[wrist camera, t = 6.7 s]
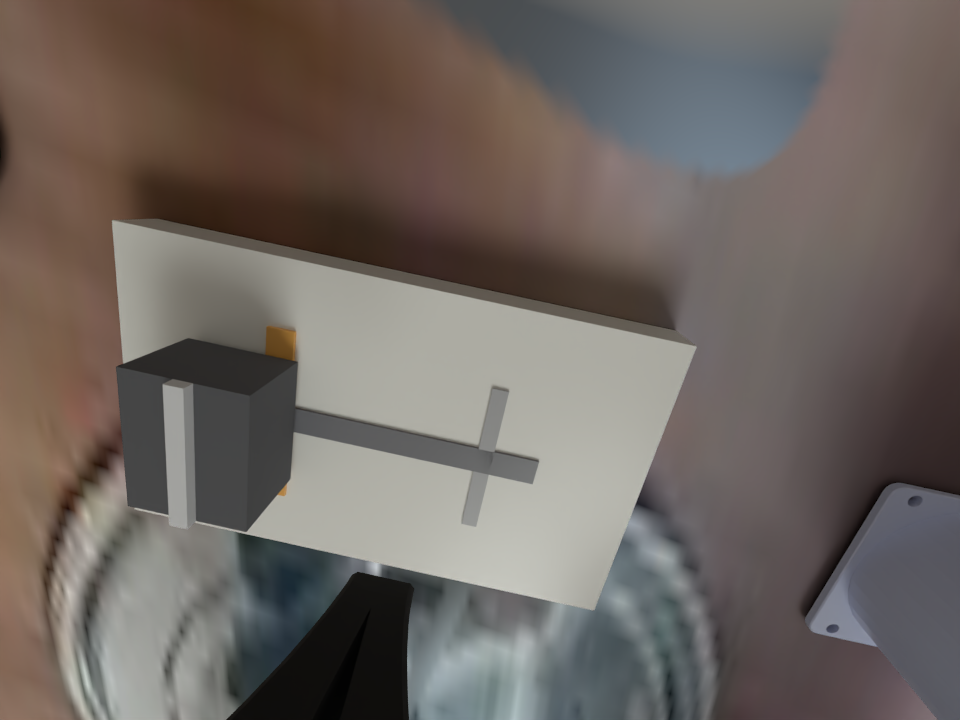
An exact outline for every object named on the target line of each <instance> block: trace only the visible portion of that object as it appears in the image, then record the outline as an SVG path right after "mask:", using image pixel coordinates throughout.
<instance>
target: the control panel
mask: <svg viewBox="0 0 960 720" xmlns="http://www.w3.org/2000/svg"><path fill="white" fill-rule="evenodd" d="M112 227H113V240H114V253H115V265H116V278H117V291H118V303H119V316H120V329H121V341H122V354H123V364H124V363H127V362H129V361H132V360H134V359H137V358H139V357H142V356H144V355H147V354H149V353H152V352H154V351H157V350H159V349H162V348H164V347H167V346H169V345H172V344H174V343H177V342H179V341H182V340H184V339H187V338H191V339H195V340H200V341H205V342H209V343H214V344H218V345H223V346H228V347H232V348H237V349H241V350H246V351H250V352H255V353H260V354H264V355H269V356H273V357H278V358H283V359H287V360H292V361H296V362H298V371H297V387H296V402H295V417H294V433H293V448H292V463H291V479H290V480H289V482H288V483H287V484H286V485H285V486H284V488H283V489H282V490H281V491H280V492H279V494H278V495H277V496H276V497H275V498H274V500H273V501H272V502H271V503H270V504H269V506H268V507H267V508H266V509H265V510H264V512H263V513H262V514H261V515H260V516H259V518H258V519H257V520H256V521H255V522H254V524H253V525H252V526H251V527H250V528H249V530H248V531H247V532H243V531H239V530H234V529H230V528H225V527H221V526H216V525H212V524H207V523H203V522H198V521H196V522H195V523H199V524H203V525H208V526H212V527H217V528H222V529H226V530H231V531H235V532H240V533H244V534H249V535H253V536H258V537H262V538H267V539H271V540H276V541H280V542H285V543H289V544H294V545H299V546H303V547H308V548H312V549H317V550H321V551H326V552H330V553H335V554H339V555H344V556H348V557H353V558H357V559H362V560H367V561H371V562H376V563H380V564H385V565H389V566H394V567H398V568H403V569H407V570H412V571H416V572H421V573H425V574H430V575H434V576H439V577H444V578H448V579H453V580H457V581H462V582H466V583H471V584H475V585H480V586H484V587H489V588H493V589H498V590H502V591H507V592H511V593H516V594H521V595H525V596H530V597H534V598H539V599H543V600H548V601H552V602H557V603H561V604H566V605H570V606H575V607H579V608H584V609H589V610H593V611H594V610H595V607H596V605H597V602H598V599H599V597H600V594H601V592H602V589H603V587H604V584H605V581H606V579H607V576H608V574H609V571H610V569H611V566H612V563H613V561H614V558H615V556H616V553H617V551H618V548H619V545H620V543H621V540H622V538H623V535H624V532H625V530H626V527H627V525H628V522H629V520H630V517H631V514H632V512H633V509H634V507H635V504H636V502H637V499H638V496H639V494H640V491H641V489H642V486H643V484H644V481H645V478H646V476H647V473H648V471H649V468H650V466H651V463H652V460H653V458H654V455H655V453H656V450H657V448H658V445H659V442H660V440H661V437H662V435H663V432H664V430H665V427H666V424H667V422H668V419H669V417H670V414H671V412H672V409H673V406H674V404H675V401H676V399H677V396H678V393H679V391H680V388H681V386H682V383H683V381H684V378H685V375H686V373H687V370H688V368H689V365H690V363H691V360H692V357H693V355H694V352H695V350H696V347H697V346H695V345H694V344H693V343H692V342H690V341H689V340H688V339H686V338H685V337H684V336H682V335H681V334H680V333H679V332H677V331H675V330H671V329H666V328H661V327H657V326H652V325H648V324H643V323H638V322H634V321H629V320H624V319H620V318H615V317H610V316H606V315H601V314H597V313H592V312H587V311H583V310H578V309H573V308H569V307H564V306H560V305H555V304H550V303H546V302H541V301H536V300H532V299H527V298H522V297H518V296H513V295H509V294H504V293H499V292H495V291H490V290H485V289H481V288H476V287H472V286H467V285H462V284H458V283H453V282H448V281H444V280H439V279H435V278H430V277H425V276H421V275H416V274H411V273H407V272H402V271H397V270H393V269H388V268H384V267H379V266H374V265H370V264H365V263H360V262H356V261H351V260H347V259H342V258H337V257H333V256H328V255H323V254H319V253H314V252H309V251H305V250H300V249H296V248H291V247H286V246H282V245H277V244H272V243H268V242H263V241H259V240H254V239H249V238H245V237H240V236H235V235H231V234H226V233H222V232H217V231H212V230H208V229H203V228H198V227H194V226H189V225H184V224H180V223H175V222H171V221H166V220H161V219H131V220H112ZM135 510H140V511H145V512H149V513H154V514H158V515H163V516H167V517H169V515H166V514H162V513H157V512H153V511H148V510H144V509H139V508H135Z"/></svg>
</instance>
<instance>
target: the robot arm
mask: <svg viewBox="0 0 960 720" xmlns="http://www.w3.org/2000/svg"><path fill="white" fill-rule="evenodd" d="M911 497H912V498H911ZM910 498H911V499H910ZM909 499H910V500H909ZM413 593H414V588H413V587H412V585H411V584H410V583H405V582H401V581H396V580H392V579H387V578H383V577H378V576H374V575H369V574H365V573H360V572H357V573H355V574H353V575H352V576H351V578H350V579H349V581H348V582H347V584H346V585H345V586H344V588H343V589H342V591H341V592H340V593H339V595H338V596H337V597H336V599H335V600H334V601H333V603H332V604H331V605H330V606H329V608H328V609H327V610H326V612H325V613H324V614H323V615H322V616H321V618H320V619H319V620H318V621H317V623H316V624H315V625H314V626H313V627H312V629H311V630H310V631H309V632H308V633H307V634H306V636H305V637H304V638H303V639H302V640H301V641H300V642H299V644H298V645H297V646H296V647H295V648H294V649H293V650H292V652H291V653H290V654H289V655H288V656H287V657H286V658H285V660H284V661H283V662H282V663H281V664H280V665H279V666H278V667H277V668H276V669H275V670H274V671H273V672H272V673H271V674H270V676H269V677H268V678H267V679H266V680H265V681H264V682H263V683H262V684H261V685H260V686H259V687H258V688H257V689H256V690H255V691H254V692H253V693H252V694H251V695H250V697H249V698H248V699H247V700H246V701H245V702H244V703H243V704H242V705H241V706H240V707H239V708H238V709H237V710H236V711H235V712H234V713H233V714H232V715H231V716H230V717H229V718H228V719H226V720H409V714H408V690H407V641H408V624H409V614H410V608H411V603H412V598H413ZM805 623H806V625H807V626H808V628H809V629H810V630H811V631H812V632H814V633H817V634H821V635H826V636H831V637H835V638H840V639H844V640H849V641H853V642H858V643H862V644H867V645H871V646H876V647H878V648H879V649H880V650H881V651H882V653H883V654H884V655H885V656H886V657H887V659H888V660H889V661H890V662H891V664H892V665H893V666H894V667H895V668H896V670H897V671H898V672H899V673H900V674H901V676H902V677H903V678H904V679H905V681H906V682H907V683H908V684H909V685H910V687H911V688H912V689H913V690H914V691H915V693H916V694H917V695H918V696H919V698H920V699H921V700H922V701H923V702H924V704H925V705H926V706H927V707H928V708H929V710H930V711H931V712H932V713H933V715H934V716H935V717H936V718H937V719H938V720H960V495H955V494H951V493H946V492H941V491H937V490H932V489H928V488H923V487H918V486H914V485H909V484H905V483H894V484H890V485H889V486H887V487H886V488H885V489H884V490H883V492H882V493H881V495H880V497H879V498H878V500H877V502H876V503H875V505H874V506H873V508H872V510H871V511H870V513H869V515H868V516H867V518H866V520H865V521H864V523H863V524H862V526H861V528H860V529H859V531H858V533H857V534H856V536H855V538H854V539H853V541H852V542H851V544H850V546H849V547H848V549H847V551H846V552H845V554H844V556H843V557H842V559H841V560H840V562H839V564H838V565H837V567H836V569H835V570H834V572H833V573H832V575H831V577H830V578H829V580H828V582H827V583H826V585H825V587H824V588H823V590H822V591H821V593H820V595H819V596H818V598H817V600H816V601H815V603H814V605H813V606H812V608H811V609H810V611H809V613H808V614H807V616H806V618H805Z"/></svg>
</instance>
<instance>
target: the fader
mask: <svg viewBox="0 0 960 720" xmlns="http://www.w3.org/2000/svg"><path fill="white" fill-rule="evenodd" d="M297 371H298V362H296V361H292V360H287V359H283V358H278V357H273V356H269V355H264V354H260V353H255V352H250V351H246V350H241V349H237V348H232V347H228V346H223V345H218V344H214V343H209V342H205V341H200V340H195V339H191V338H187V339H184V340H182V341H179V342H177V343H174V344H172V345H169V346H167V347H164V348H162V349H159V350H157V351H154V352H152V353H149V354H147V355H144V356H142V357H139V358H137V359H134V360H132V361H129V362H127V363H124V364H121V365H119V366H116V372H117V383H118V395H119V407H120V419H121V430H122V442H123V454H124V465H125V477H126V489H127V501H128V506H130V507H135V508H139V509H144V510H148V511H153V512H157V513H162V514H166V515H169V525H170V526H174V527H179V528H183V529H188V528H189V527H190V526H191V525H192V524H193V523H195V522H196V521H198V522H203V523H207V524H212V525H216V526H221V527H225V528H230V529H234V530H239V531H243V532H247V531H248V530H249V528H250V527H251V526H252V525H253V524H254V522H255V521H256V520H257V519H258V518H259V516H260V515H261V514H262V513H263V512H264V510H265V509H266V508H267V507H268V506H269V504H270V503H271V502H272V501H273V500H274V498H275V497H276V496H277V495H278V494H279V492H280V491H281V490H282V489H283V488H284V486H285V485H286V484H287V483H288V482H289V480H290V479H291V463H292V448H293V433H294V417H295V402H296V387H297Z"/></svg>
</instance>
